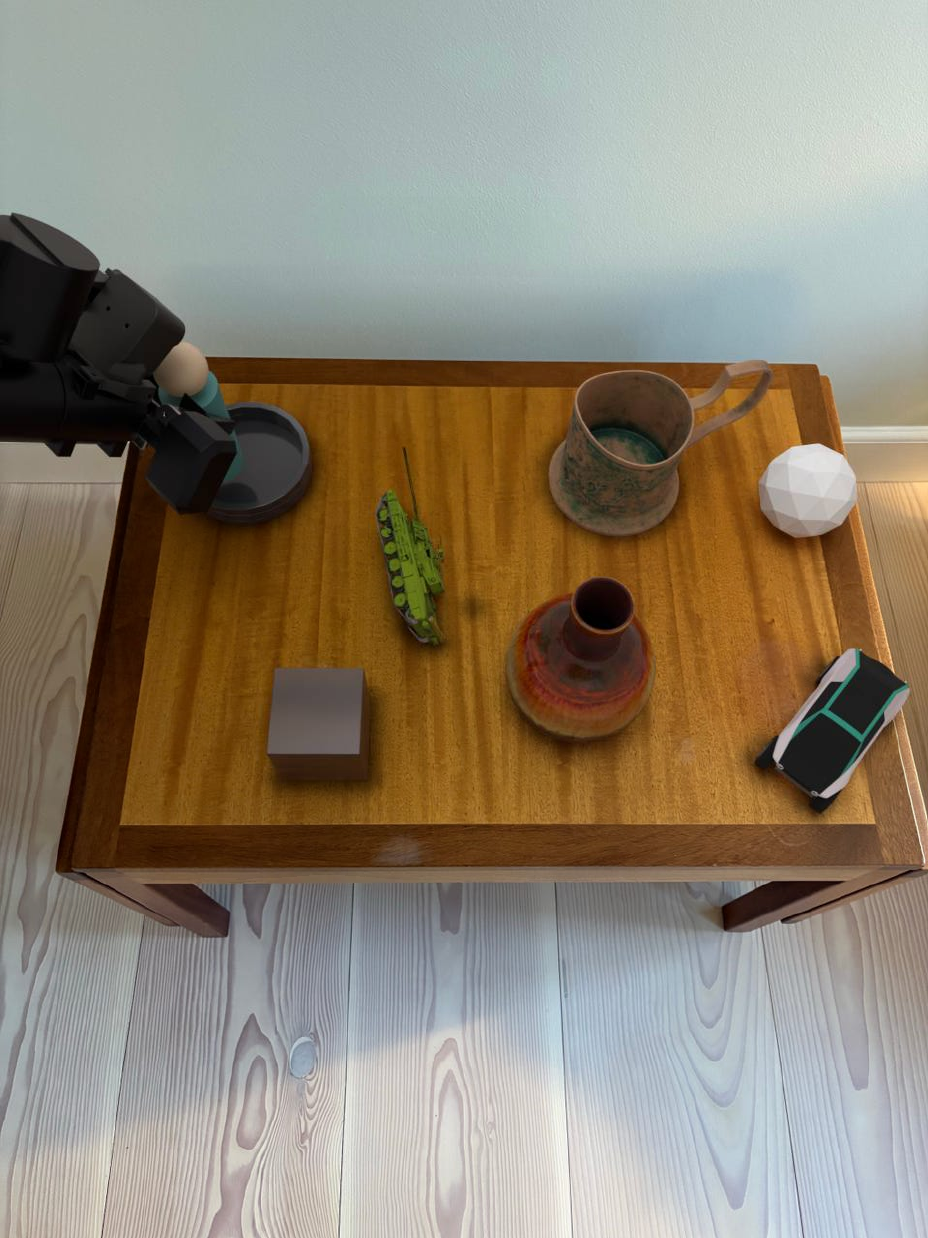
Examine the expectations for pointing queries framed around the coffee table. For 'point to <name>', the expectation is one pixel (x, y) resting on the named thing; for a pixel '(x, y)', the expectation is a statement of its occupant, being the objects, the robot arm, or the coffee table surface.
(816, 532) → the geometric ball
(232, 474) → the wooden doll
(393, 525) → the toy tank
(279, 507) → the round grey tray
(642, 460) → the mug
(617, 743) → the coffee table surface
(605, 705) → the vase
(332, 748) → the walnut block
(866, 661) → the toy car
